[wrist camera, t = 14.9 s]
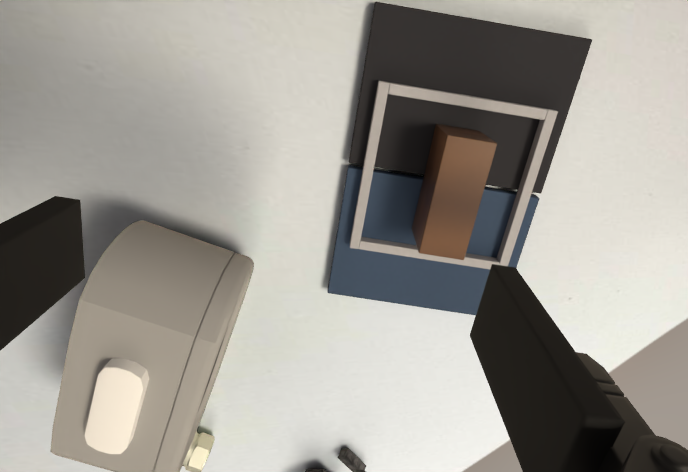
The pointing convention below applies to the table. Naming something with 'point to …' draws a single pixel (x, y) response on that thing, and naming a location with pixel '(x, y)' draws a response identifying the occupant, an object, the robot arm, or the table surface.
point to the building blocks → (347, 462)
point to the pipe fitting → (198, 452)
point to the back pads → (416, 138)
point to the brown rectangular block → (452, 190)
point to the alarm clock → (147, 349)
